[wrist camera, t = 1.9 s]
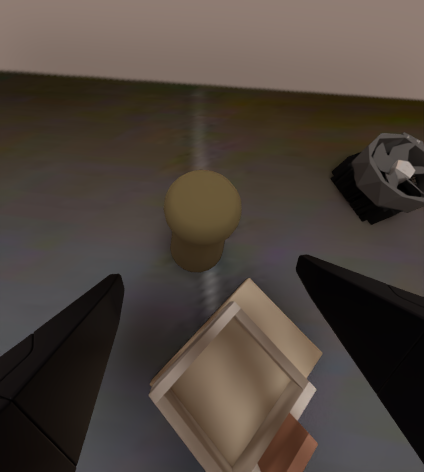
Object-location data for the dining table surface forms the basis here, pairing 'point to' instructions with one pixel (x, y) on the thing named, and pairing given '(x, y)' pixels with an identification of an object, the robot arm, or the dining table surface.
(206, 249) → the cork
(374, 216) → the cpu cooler
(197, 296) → the dining table surface
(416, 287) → the dining table surface
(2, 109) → the dining table surface
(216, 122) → the dining table surface
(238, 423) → the wooden box
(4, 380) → the robot arm
